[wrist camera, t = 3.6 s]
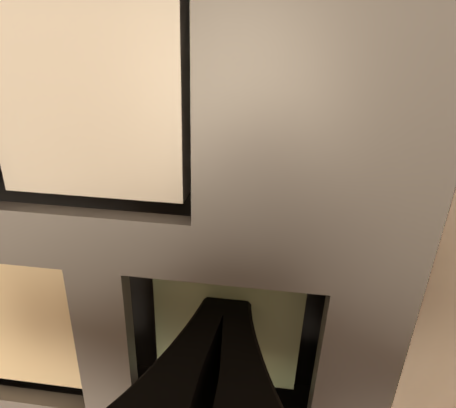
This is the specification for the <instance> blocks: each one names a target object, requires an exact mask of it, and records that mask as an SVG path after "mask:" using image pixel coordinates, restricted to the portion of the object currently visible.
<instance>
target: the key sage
mask: <svg viewBox="0 0 456 408" xmlns="http://www.w3.org/2000/svg"><path fill="white" fill-rule="evenodd" d="M153 294H154V312H155V330H156V348H157V359H158V358H159V357H160V356H161V354H162V353H163V352H164V351H165V350H166V349H167V348H168V347H169V346H170V344H171V343H172V342H173V341H174V340H175V338H176V337H177V336H178V335H179V333H180V332H181V331H182V330H183V328H184V327H185V326H186V324H187V323H188V322H189V320H190V319H191V318H192V316H193V315H194V313H195V312H196V310H197V309H198V307H199V306H200V304H201V303H202V301H203V300H204V299H205V298H206V297H213V298H223V299H233V300H244V301H249V303H250V304H251V310H252V319H253V324H254V328H255V333H256V336H257V340H258V343H259V346H260V350H261V353H262V356H263V359H264V362H265V364H266V367H267V370H268V372H269V375H270V377H271V380H272V382H273V385H274V387H276V388H285V389H294V382H295V375H296V368H297V361H298V354H299V347H300V340H301V333H302V326H303V319H304V312H305V305H306V298H307V294H306V293H295V292H285V291H275V290H265V289H254V288H244V287H234V286H224V285H213V284H203V283H193V282H182V281H172V280H162V279H153Z"/></svg>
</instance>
